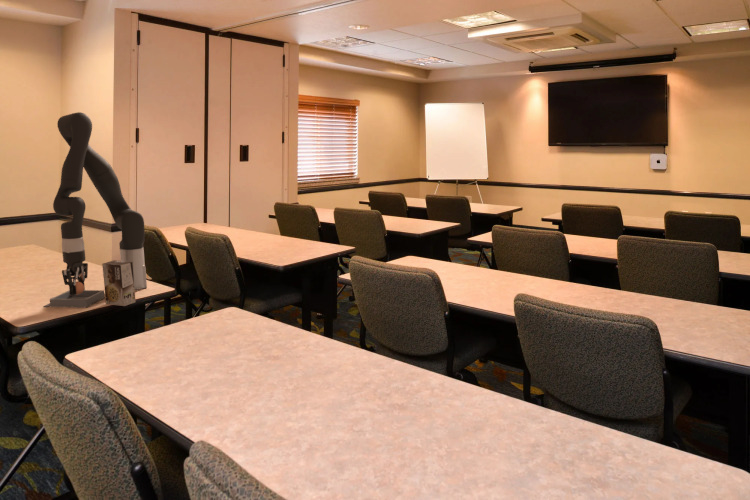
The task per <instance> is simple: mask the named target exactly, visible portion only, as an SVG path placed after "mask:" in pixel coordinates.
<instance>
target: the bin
mask: <svg viewBox="0 0 750 500" xmlns="http://www.w3.org/2000/svg"><path fill="white" fill-rule="evenodd" d="M103 299H106V297H105V289H103V290H99V289H93V290H91V289H85V290H84V291H83V292H82V293H81V294H78V295H70V290H69V289H68V290H67V291H65V292H62V293H60V294H57V295H56V296H54V297H52V298H50V299H49V303H50V308H85V309H86V308H88V307H90V306H92V305H94V304H96V303H97V302H100V301H101V300H103Z"/></svg>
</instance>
